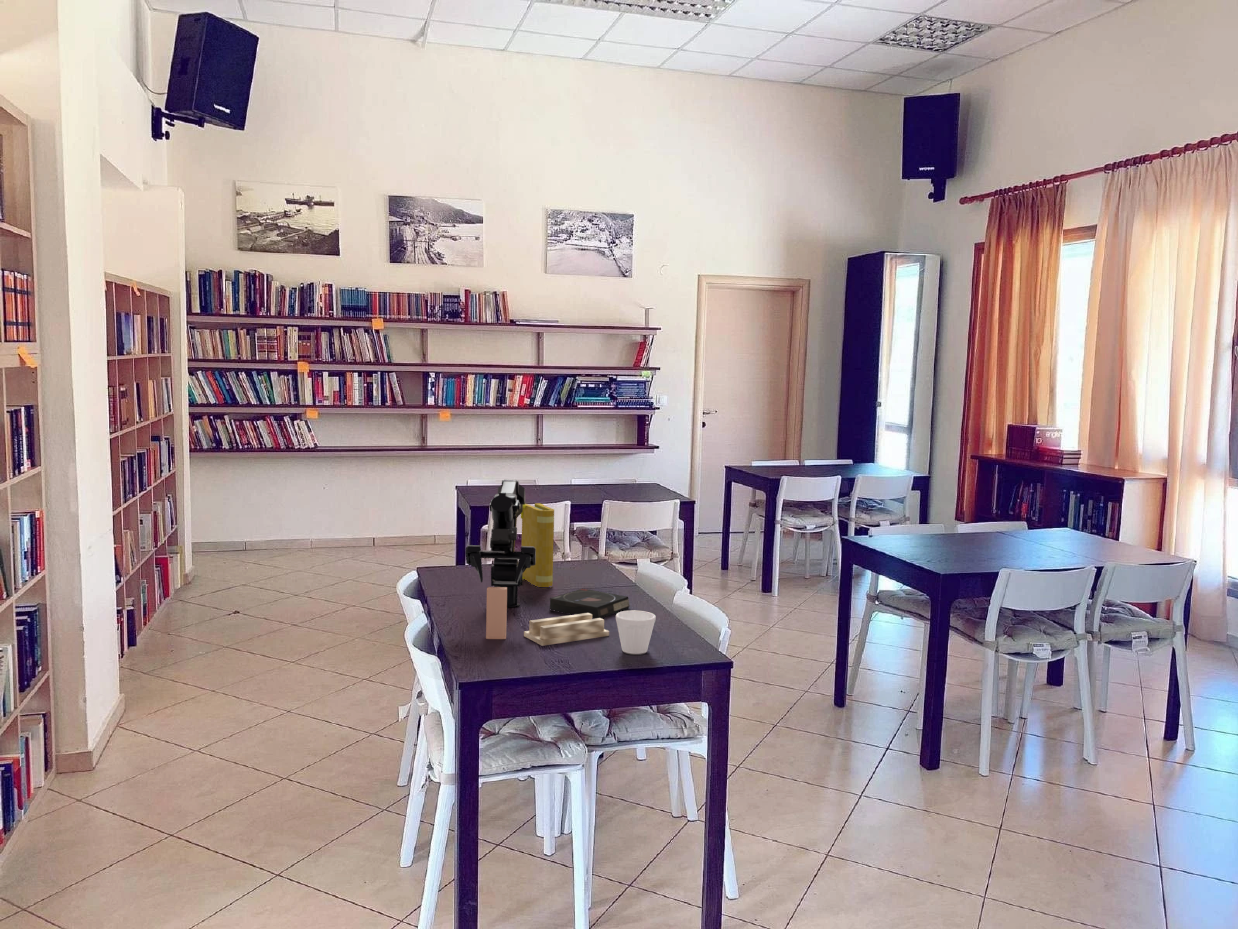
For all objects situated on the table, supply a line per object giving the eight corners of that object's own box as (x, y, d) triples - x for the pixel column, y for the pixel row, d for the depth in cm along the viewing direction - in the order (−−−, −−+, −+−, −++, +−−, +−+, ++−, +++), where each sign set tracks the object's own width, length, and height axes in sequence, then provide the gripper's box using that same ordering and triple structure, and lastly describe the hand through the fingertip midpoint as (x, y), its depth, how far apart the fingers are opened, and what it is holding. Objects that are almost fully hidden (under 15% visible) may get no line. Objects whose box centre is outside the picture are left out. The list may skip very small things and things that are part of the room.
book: (519, 577, 312) (520, 503, 309) (538, 576, 315) (540, 503, 312) (536, 588, 296) (538, 511, 294) (556, 587, 299) (558, 510, 297)
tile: (486, 636, 241) (487, 587, 240) (506, 636, 242) (507, 587, 240) (486, 638, 239) (486, 589, 238) (505, 639, 239) (506, 589, 238)
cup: (613, 645, 236) (614, 610, 235) (652, 646, 237) (653, 610, 236) (615, 657, 226) (617, 620, 225) (656, 658, 227) (658, 620, 226)
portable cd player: (598, 621, 261) (598, 607, 260) (549, 611, 270) (550, 598, 270) (629, 610, 275) (629, 597, 274) (582, 601, 284) (582, 588, 283)
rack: (589, 626, 253) (589, 611, 253) (609, 635, 245) (609, 620, 245) (523, 636, 242) (524, 620, 242) (542, 645, 234) (542, 629, 234)
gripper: (466, 515, 249) (461, 564, 239) (536, 517, 250) (534, 565, 240) (469, 539, 258) (464, 587, 248) (536, 540, 259) (534, 588, 249)
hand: (498, 582), depth 246 cm, fingers open, 9 cm apart
